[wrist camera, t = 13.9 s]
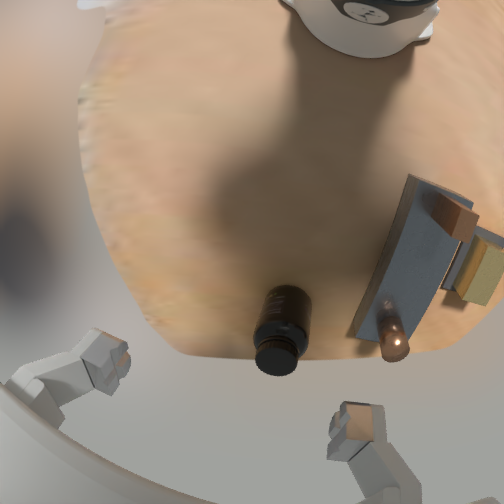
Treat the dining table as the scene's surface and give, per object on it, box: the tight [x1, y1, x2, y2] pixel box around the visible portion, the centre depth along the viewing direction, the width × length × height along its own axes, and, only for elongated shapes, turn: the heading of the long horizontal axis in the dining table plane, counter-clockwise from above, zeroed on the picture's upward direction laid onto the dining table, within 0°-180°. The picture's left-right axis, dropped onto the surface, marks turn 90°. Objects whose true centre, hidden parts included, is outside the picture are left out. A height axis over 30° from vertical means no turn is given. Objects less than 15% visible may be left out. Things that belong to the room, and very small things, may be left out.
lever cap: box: [452, 234, 504, 306], centre depth 29 cm, size 8×5×4 cm, turn 170°
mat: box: [441, 225, 504, 292], centre depth 31 cm, size 10×8×1 cm
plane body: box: [353, 174, 479, 362], centre depth 30 cm, size 22×8×10 cm, turn 170°
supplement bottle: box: [253, 285, 312, 376], centre depth 35 cm, size 7×7×12 cm
